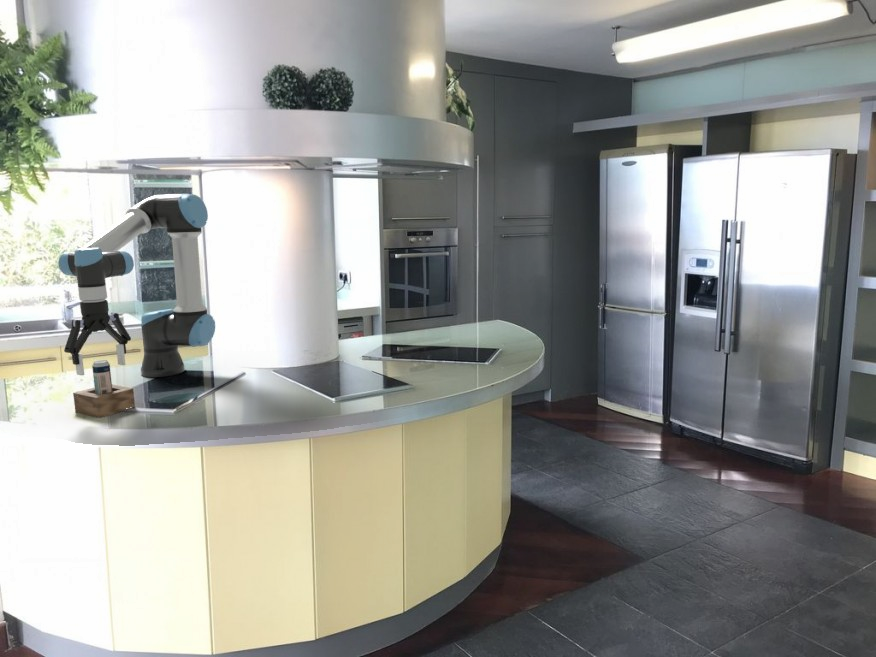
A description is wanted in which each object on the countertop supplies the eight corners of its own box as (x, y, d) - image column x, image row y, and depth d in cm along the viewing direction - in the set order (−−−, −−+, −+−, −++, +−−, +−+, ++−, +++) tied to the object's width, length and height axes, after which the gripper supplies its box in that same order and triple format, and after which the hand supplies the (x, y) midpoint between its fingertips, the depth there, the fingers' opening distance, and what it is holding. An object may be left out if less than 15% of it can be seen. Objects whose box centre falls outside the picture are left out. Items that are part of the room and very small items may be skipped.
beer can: (116, 398, 221) (112, 360, 219) (105, 402, 216) (101, 363, 214) (103, 397, 222) (99, 359, 220) (92, 401, 217) (88, 363, 215)
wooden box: (111, 402, 228) (109, 383, 227) (135, 407, 221) (133, 388, 220) (75, 412, 218) (73, 392, 217) (99, 417, 211) (97, 398, 210)
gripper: (123, 293, 226) (130, 359, 230) (45, 305, 205) (54, 377, 209) (138, 295, 222) (145, 362, 226) (60, 307, 201) (69, 380, 205)
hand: (101, 369), depth 218 cm, fingers open, 13 cm apart
